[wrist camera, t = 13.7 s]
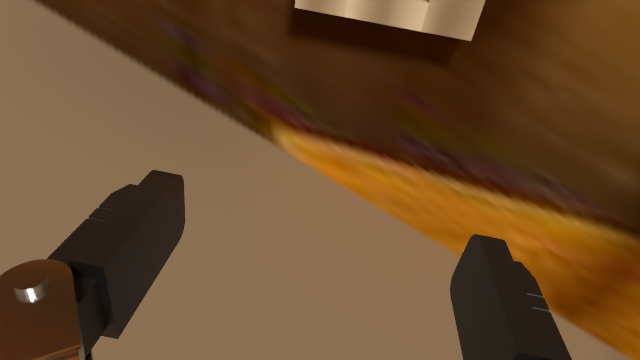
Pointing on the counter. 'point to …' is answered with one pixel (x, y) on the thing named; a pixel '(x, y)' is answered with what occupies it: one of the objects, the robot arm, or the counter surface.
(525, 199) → the counter surface
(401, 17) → the beige flat frame
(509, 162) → the counter surface
